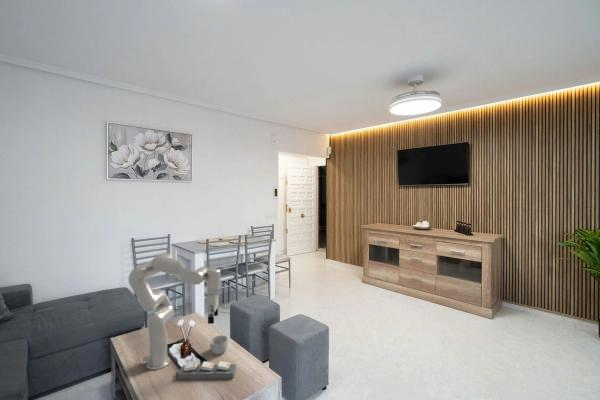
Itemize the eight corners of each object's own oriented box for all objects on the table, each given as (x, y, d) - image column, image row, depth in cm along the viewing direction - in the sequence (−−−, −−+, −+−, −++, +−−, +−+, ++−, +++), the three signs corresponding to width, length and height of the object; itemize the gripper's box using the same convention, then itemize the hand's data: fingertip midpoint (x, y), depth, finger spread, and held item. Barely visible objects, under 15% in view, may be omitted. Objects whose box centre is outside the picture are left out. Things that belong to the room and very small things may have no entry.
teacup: (222, 357, 175) (222, 344, 175) (206, 355, 177) (206, 342, 177) (232, 345, 189) (232, 333, 188) (217, 343, 191) (217, 332, 191)
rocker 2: (200, 368, 156) (201, 365, 156) (203, 364, 161) (203, 361, 161) (211, 370, 157) (212, 367, 157) (213, 366, 161) (214, 363, 161)
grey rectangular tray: (173, 379, 154) (173, 372, 154) (179, 370, 162) (179, 364, 162) (233, 378, 155) (233, 371, 155) (236, 369, 163) (236, 362, 163)
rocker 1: (184, 371, 156) (183, 368, 156) (187, 366, 161) (186, 363, 160) (195, 369, 156) (194, 365, 156) (198, 364, 161) (197, 361, 161)
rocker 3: (217, 368, 157) (218, 365, 157) (219, 363, 161) (220, 360, 161) (228, 370, 157) (228, 367, 157) (229, 365, 161) (230, 362, 161)
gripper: (210, 285, 173) (210, 312, 173) (202, 295, 156) (202, 326, 156) (223, 285, 173) (222, 313, 174) (216, 296, 156) (216, 326, 157)
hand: (213, 319), depth 165 cm, fingers open, 9 cm apart
